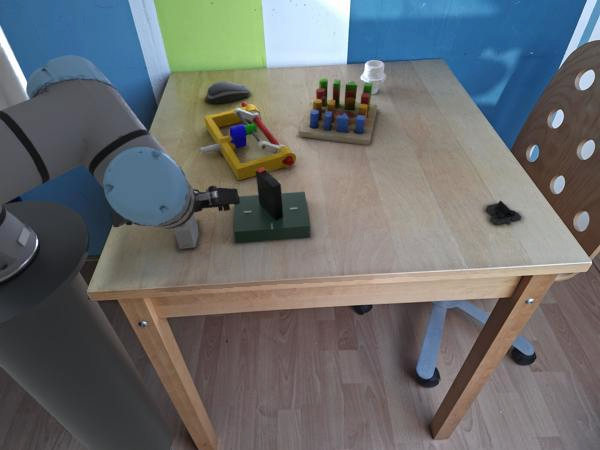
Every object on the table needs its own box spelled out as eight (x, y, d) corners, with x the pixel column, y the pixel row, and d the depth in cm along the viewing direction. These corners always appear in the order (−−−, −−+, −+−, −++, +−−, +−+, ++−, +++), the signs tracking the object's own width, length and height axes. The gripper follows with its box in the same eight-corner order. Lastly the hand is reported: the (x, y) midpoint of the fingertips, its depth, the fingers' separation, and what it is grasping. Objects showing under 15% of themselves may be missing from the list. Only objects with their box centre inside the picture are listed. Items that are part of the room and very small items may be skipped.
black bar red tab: (283, 217, 79) (280, 182, 74) (275, 220, 79) (273, 186, 73) (266, 200, 83) (262, 166, 77) (259, 203, 82) (255, 169, 76)
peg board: (298, 137, 105) (297, 105, 99) (313, 103, 117) (313, 73, 111) (369, 145, 101) (372, 113, 95) (377, 110, 113) (380, 79, 108)
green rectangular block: (235, 243, 79) (233, 231, 77) (236, 207, 86) (234, 195, 84) (310, 237, 80) (310, 225, 77) (304, 202, 87) (304, 190, 85)
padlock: (178, 224, 83) (166, 183, 76) (199, 221, 83) (189, 181, 76) (176, 250, 78) (163, 210, 71) (198, 247, 78) (187, 207, 71)
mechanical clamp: (248, 87, 111) (297, 144, 91) (251, 108, 115) (298, 167, 96) (179, 102, 105) (216, 166, 86) (184, 124, 110) (220, 190, 90)
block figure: (509, 193, 84) (527, 211, 80) (505, 202, 86) (523, 220, 82) (482, 199, 83) (500, 218, 79) (479, 208, 85) (496, 227, 81)
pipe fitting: (357, 87, 123) (359, 59, 118) (381, 85, 124) (384, 58, 118) (361, 97, 119) (364, 69, 113) (386, 95, 119) (390, 68, 114)
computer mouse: (252, 97, 120) (251, 84, 117) (209, 106, 116) (207, 92, 114) (245, 87, 124) (243, 74, 121) (204, 95, 121) (201, 82, 118)
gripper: (253, 155, 58) (246, 178, 79) (58, 188, 53) (105, 203, 74) (263, 209, 58) (254, 217, 79) (69, 246, 53) (114, 245, 74)
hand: (181, 210), depth 76 cm, fingers open, 13 cm apart
